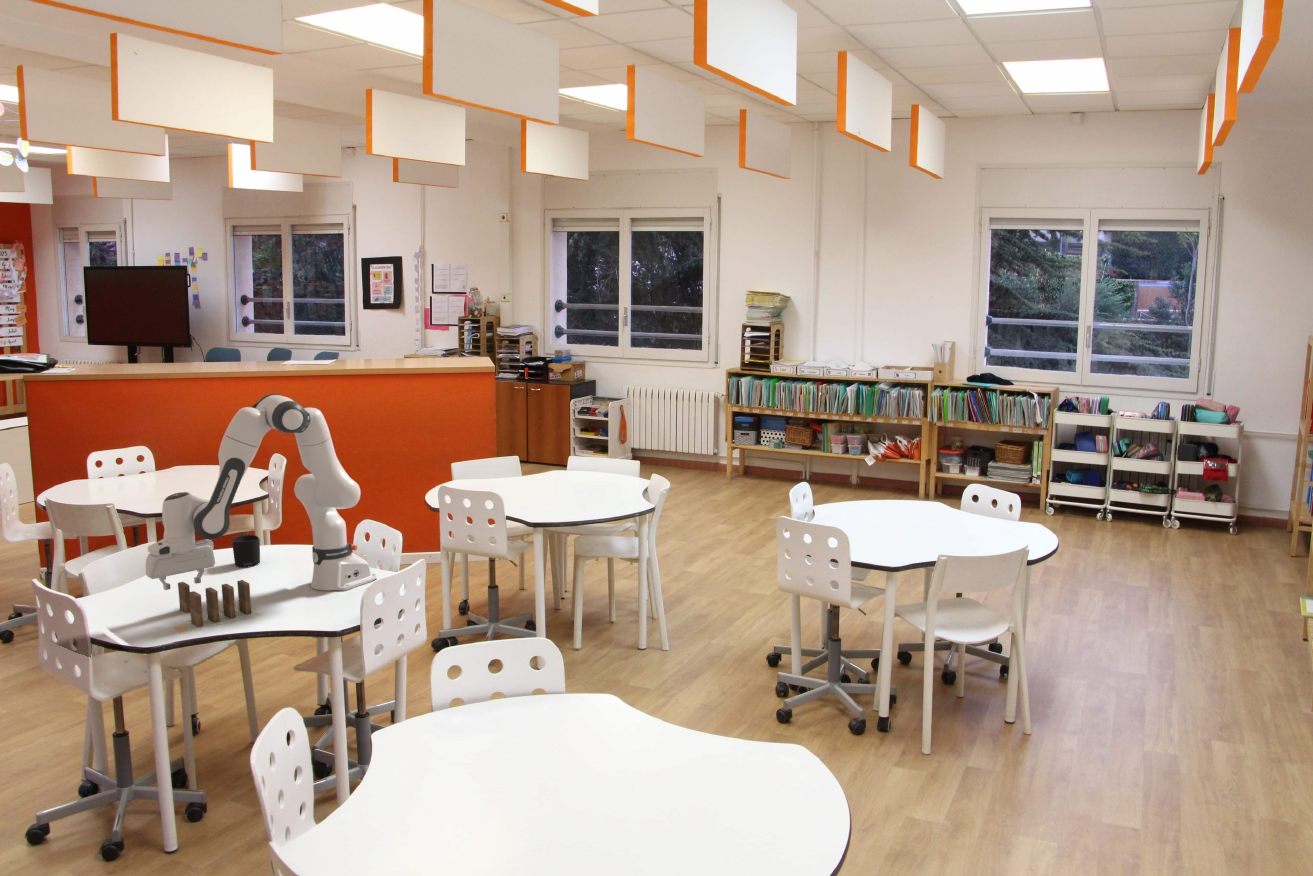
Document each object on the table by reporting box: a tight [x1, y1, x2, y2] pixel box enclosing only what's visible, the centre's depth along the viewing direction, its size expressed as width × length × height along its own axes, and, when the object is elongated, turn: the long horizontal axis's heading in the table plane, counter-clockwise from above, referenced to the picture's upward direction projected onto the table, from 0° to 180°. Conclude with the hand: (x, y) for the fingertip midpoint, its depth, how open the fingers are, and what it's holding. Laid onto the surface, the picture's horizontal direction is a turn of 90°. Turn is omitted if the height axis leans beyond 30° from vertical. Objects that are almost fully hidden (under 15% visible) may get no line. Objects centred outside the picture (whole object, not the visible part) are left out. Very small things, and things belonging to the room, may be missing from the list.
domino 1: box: [189, 590, 204, 627], centre depth 297 cm, size 2×5×10 cm, turn 47°
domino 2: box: [204, 587, 220, 623], centre depth 300 cm, size 2×5×10 cm, turn 47°
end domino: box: [177, 581, 191, 614], centre depth 309 cm, size 2×5×10 cm, turn 47°
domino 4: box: [236, 579, 252, 615], centre depth 307 cm, size 2×5×10 cm, turn 47°
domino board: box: [169, 608, 260, 635], centre depth 302 cm, size 24×9×1 cm, turn 137°
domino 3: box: [221, 583, 236, 619], centre depth 304 cm, size 2×5×10 cm, turn 47°
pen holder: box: [231, 534, 261, 568], centre depth 360 cm, size 9×9×10 cm
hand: (182, 586), depth 307 cm, fingers open, 8 cm apart
